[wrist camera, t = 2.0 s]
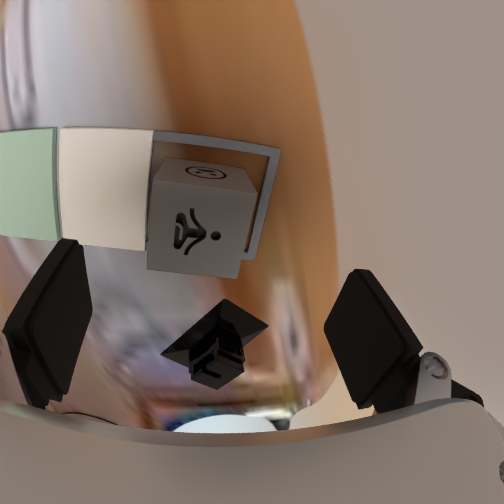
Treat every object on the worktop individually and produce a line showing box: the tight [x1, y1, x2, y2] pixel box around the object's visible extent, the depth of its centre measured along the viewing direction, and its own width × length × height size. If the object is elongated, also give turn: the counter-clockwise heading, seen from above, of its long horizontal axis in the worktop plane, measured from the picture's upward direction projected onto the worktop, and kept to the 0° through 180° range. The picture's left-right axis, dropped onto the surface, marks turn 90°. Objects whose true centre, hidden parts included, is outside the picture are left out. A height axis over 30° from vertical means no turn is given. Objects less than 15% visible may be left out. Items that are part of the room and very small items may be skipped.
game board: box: [0, 127, 282, 261], centre depth 16 cm, size 8×21×1 cm, turn 78°
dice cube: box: [147, 157, 258, 279], centre depth 16 cm, size 5×5×5 cm
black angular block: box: [161, 299, 268, 390], centre depth 24 cm, size 12×7×5 cm, turn 135°
